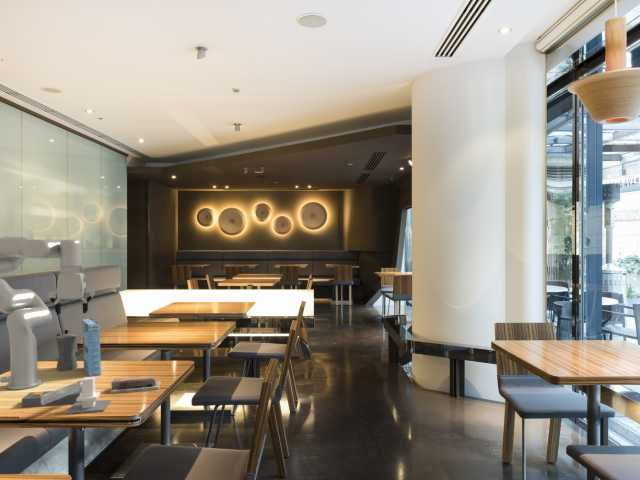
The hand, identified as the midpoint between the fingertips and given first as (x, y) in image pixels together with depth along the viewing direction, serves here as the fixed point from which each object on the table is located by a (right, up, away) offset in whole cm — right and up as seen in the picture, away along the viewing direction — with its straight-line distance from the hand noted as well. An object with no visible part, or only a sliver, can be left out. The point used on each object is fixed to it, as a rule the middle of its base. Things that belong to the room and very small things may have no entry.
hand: (71, 313), depth 199 cm
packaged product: (+26, -30, 0) cm, 40 cm away
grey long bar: (+9, -26, -24) cm, 36 cm away
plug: (+18, -29, -23) cm, 41 cm away
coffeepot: (-21, -31, +36) cm, 52 cm away
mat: (+18, -30, -23) cm, 42 cm away
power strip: (+2, -30, -15) cm, 34 cm away
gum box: (-5, -31, +28) cm, 42 cm away
